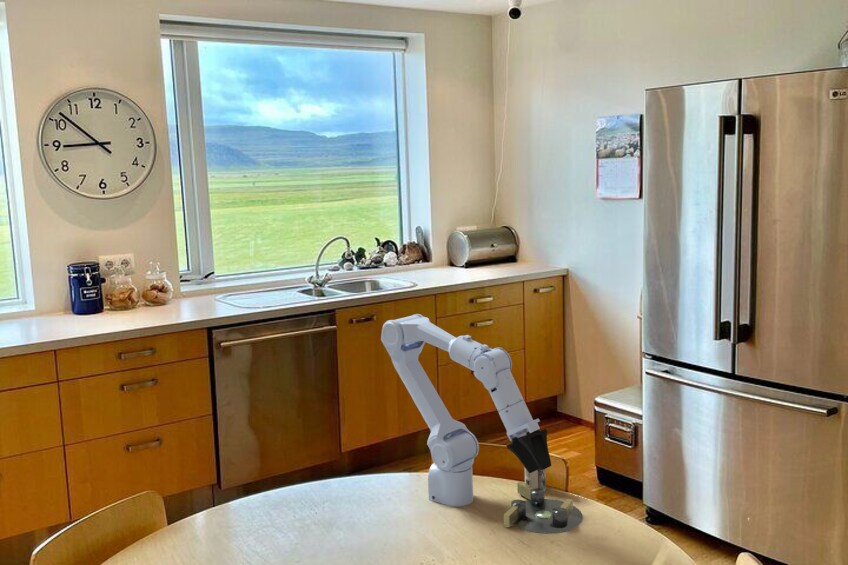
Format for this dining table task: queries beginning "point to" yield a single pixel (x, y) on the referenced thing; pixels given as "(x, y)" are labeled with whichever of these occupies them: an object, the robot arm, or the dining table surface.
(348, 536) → the dining table surface
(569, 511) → the outer lever
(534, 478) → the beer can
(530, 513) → the base plate
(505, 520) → the inner lever
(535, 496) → the rear lever
